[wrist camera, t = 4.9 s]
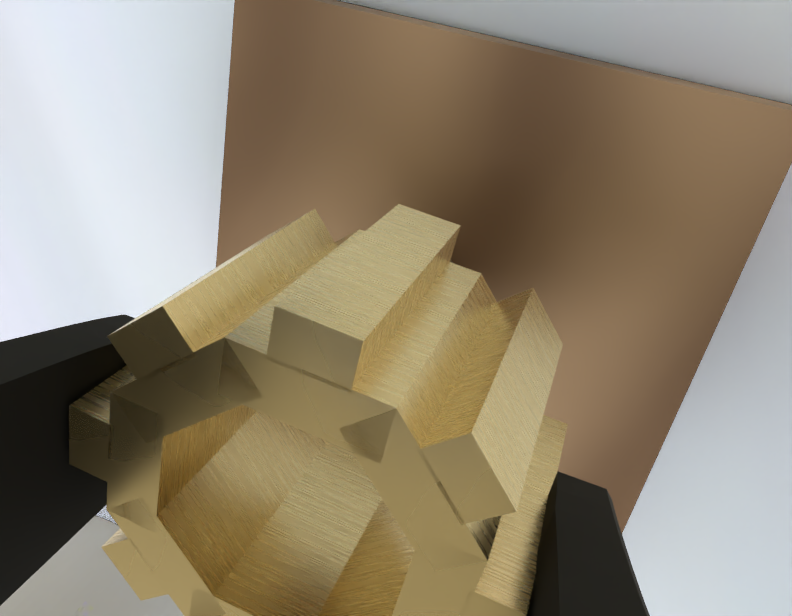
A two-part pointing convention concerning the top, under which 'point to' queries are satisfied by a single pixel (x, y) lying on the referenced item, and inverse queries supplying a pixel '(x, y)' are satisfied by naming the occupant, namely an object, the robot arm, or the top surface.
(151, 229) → the top surface
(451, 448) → the brass gear
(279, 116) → the gear board
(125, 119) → the top surface
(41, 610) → the cup
